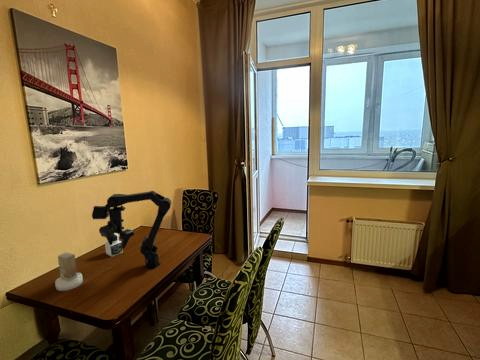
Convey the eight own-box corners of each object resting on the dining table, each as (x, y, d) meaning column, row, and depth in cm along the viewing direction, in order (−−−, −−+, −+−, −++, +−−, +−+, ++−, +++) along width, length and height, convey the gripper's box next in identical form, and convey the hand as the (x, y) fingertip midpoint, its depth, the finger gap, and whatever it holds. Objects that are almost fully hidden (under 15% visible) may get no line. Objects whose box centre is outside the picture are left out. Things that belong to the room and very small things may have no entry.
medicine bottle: (111, 257, 151) (109, 238, 149) (105, 253, 156) (103, 235, 153) (123, 252, 157) (121, 234, 155) (117, 249, 161) (115, 231, 159)
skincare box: (60, 279, 123) (56, 255, 121) (69, 274, 127) (65, 251, 125) (69, 282, 121) (65, 258, 119) (78, 277, 125) (74, 254, 123)
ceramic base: (88, 280, 128) (87, 274, 127) (66, 293, 118) (65, 287, 117) (72, 275, 132) (72, 270, 131) (50, 288, 122) (49, 282, 121)
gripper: (88, 220, 129) (91, 249, 132) (116, 226, 122) (118, 256, 125) (107, 214, 139) (109, 241, 142) (133, 219, 132) (135, 247, 135)
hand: (117, 246), depth 136 cm, fingers open, 9 cm apart
